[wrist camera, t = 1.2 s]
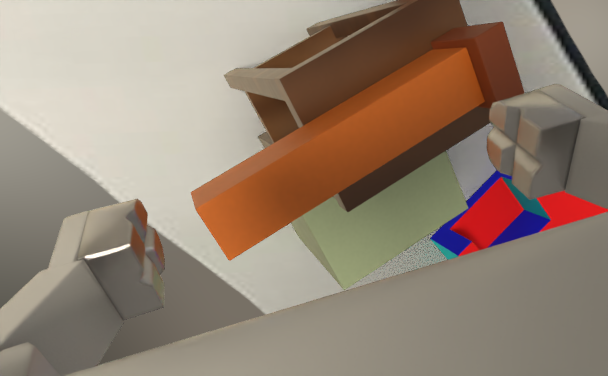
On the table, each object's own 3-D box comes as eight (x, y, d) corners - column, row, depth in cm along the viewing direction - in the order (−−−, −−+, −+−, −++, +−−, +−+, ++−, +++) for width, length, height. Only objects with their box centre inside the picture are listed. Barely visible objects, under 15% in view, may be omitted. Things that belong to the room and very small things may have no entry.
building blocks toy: (601, 202, 74) (734, 241, 57) (493, 313, 73) (596, 387, 56) (550, 116, 67) (684, 132, 50) (430, 238, 66) (525, 297, 49)
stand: (221, 74, 52) (279, 79, 28) (318, 20, 53) (452, -20, 29) (263, 150, 55) (347, 213, 31) (353, 97, 57) (498, 117, 33)
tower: (185, 185, 27) (191, 206, 23) (454, 27, 30) (503, 20, 26) (224, 245, 29) (236, 275, 25) (476, 90, 32) (525, 93, 28)
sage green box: (262, 174, 56) (298, 208, 42) (368, 110, 58) (435, 124, 44) (299, 238, 59) (344, 290, 46) (398, 176, 62) (468, 208, 48)
